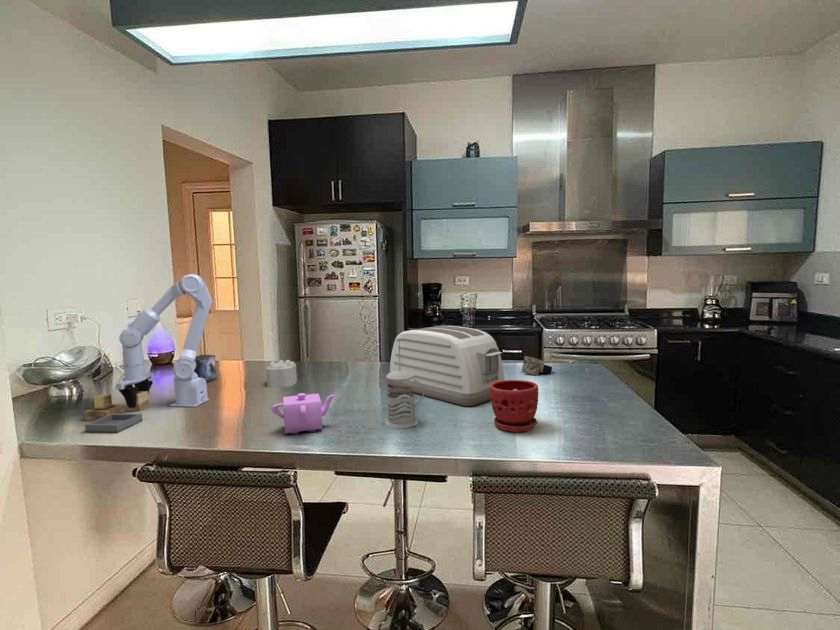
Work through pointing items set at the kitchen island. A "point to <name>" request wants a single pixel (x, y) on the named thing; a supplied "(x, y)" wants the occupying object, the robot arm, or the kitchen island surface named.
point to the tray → (113, 423)
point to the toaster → (448, 363)
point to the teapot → (302, 412)
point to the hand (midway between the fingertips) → (137, 405)
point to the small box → (206, 367)
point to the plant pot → (514, 404)
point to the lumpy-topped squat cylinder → (281, 374)
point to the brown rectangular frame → (103, 412)
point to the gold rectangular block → (103, 402)
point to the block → (140, 401)
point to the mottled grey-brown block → (534, 366)
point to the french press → (401, 399)
